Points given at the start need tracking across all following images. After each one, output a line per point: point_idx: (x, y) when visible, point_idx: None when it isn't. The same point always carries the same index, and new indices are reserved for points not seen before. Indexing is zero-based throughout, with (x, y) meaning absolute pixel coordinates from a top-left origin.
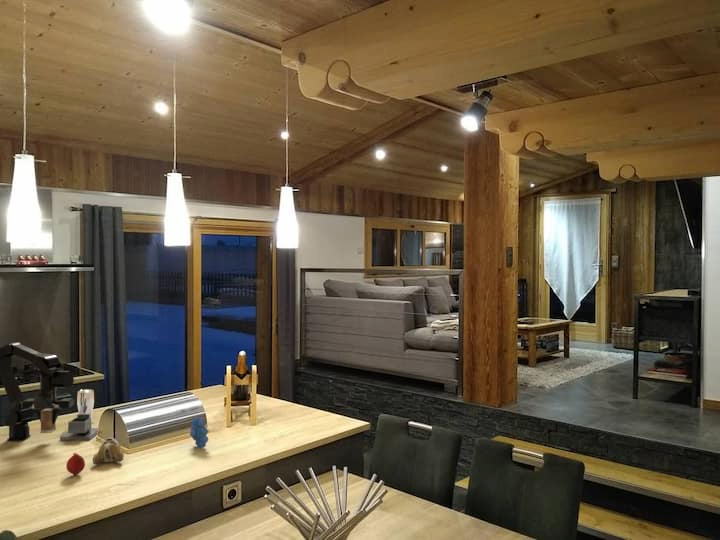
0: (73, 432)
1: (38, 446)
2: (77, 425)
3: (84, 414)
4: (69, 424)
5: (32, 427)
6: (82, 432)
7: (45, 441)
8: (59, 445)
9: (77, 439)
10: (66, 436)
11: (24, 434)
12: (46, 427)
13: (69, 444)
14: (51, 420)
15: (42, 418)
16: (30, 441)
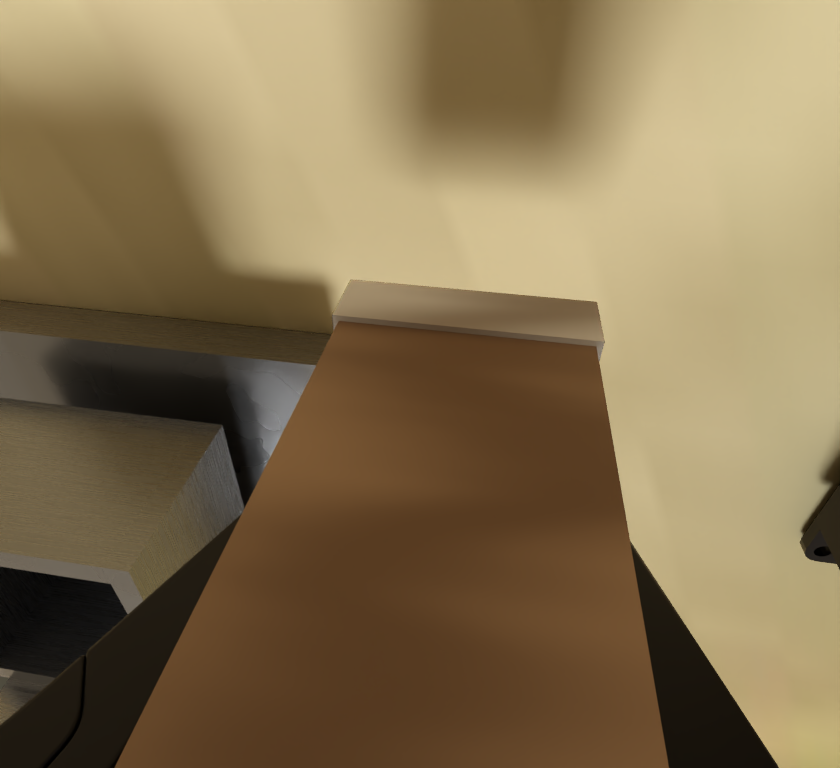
0: (143, 422)
1: (572, 40)
2: (13, 498)
3: None
4: (130, 531)
5: (793, 727)
6: (22, 406)
7: None
8: (205, 77)
9: (99, 315)
10: (234, 366)
11: None
12: (443, 375)
13: (79, 124)
14: (254, 535)
15: (572, 648)
16: (772, 348)
